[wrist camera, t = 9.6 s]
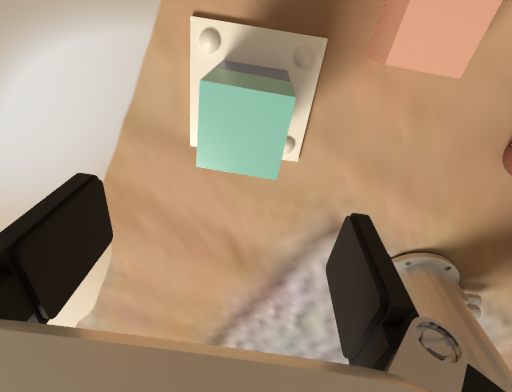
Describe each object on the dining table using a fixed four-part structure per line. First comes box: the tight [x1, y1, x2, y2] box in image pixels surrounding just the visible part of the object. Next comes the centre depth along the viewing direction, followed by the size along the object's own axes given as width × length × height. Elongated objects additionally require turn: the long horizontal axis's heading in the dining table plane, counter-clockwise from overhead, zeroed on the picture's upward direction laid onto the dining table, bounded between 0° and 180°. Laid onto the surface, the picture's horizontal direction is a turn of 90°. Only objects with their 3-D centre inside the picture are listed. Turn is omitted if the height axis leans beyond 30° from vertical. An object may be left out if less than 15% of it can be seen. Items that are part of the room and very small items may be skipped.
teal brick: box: [196, 68, 296, 180], centre depth 20 cm, size 6×6×5 cm
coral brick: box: [366, 0, 503, 79], centre depth 21 cm, size 6×6×5 cm
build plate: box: [190, 16, 328, 162], centre depth 25 cm, size 12×12×6 cm
